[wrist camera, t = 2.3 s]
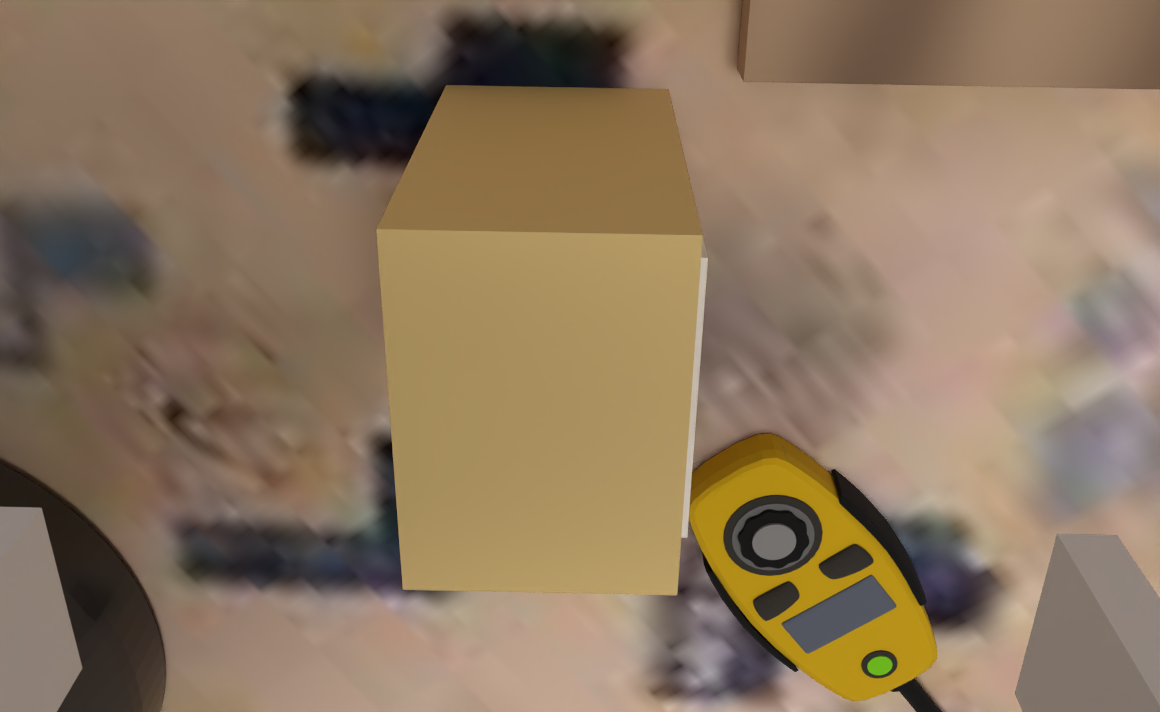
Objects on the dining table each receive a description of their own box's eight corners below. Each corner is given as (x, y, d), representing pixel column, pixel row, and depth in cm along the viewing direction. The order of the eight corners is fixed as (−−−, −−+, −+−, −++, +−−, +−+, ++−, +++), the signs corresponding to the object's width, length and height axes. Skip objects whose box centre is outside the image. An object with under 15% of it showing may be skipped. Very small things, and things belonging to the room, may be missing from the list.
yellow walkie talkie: (807, 435, 27) (1077, 785, 33) (795, 397, 29) (1054, 735, 34) (647, 530, 29) (931, 850, 34) (645, 488, 30) (916, 799, 36)
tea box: (457, 359, 28) (402, 589, 20) (446, 84, 25) (376, 229, 17) (661, 363, 28) (688, 595, 20) (677, 88, 25) (715, 235, 17)
